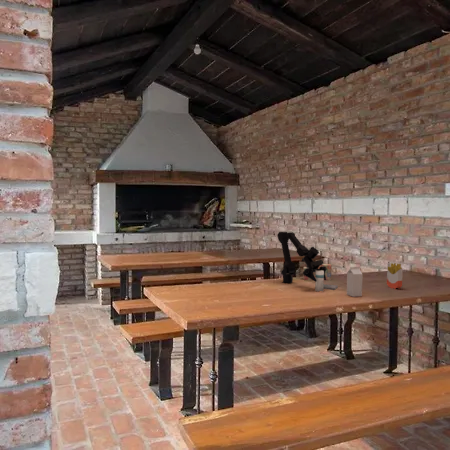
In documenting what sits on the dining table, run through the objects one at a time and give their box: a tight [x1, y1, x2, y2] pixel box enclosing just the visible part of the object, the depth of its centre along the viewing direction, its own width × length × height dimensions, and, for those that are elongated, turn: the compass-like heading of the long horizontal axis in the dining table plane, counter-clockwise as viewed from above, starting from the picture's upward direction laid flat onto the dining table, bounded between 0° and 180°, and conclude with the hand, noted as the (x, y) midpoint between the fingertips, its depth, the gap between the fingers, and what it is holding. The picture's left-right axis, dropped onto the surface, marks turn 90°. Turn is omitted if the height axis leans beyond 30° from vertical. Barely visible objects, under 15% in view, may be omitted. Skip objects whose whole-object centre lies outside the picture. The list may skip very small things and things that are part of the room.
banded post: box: [314, 270, 325, 292], centre depth 295 cm, size 6×6×14 cm
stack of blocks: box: [302, 263, 332, 281], centre depth 337 cm, size 21×6×12 cm, turn 86°
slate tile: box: [323, 283, 339, 291], centre depth 306 cm, size 13×11×1 cm
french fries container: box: [386, 262, 404, 290], centre depth 306 cm, size 5×11×18 cm, turn 20°
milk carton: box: [346, 266, 363, 298], centre depth 281 cm, size 7×7×19 cm
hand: (320, 280), depth 294 cm, fingers open, 9 cm apart
